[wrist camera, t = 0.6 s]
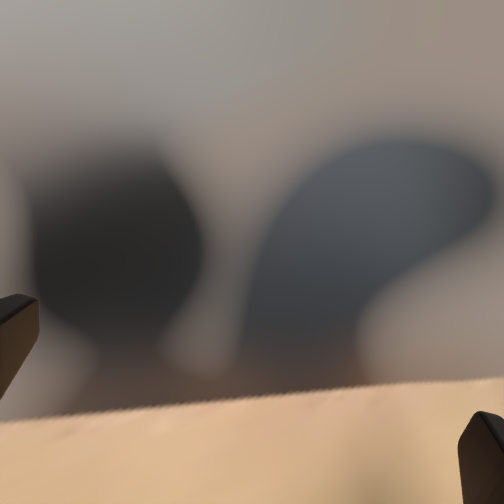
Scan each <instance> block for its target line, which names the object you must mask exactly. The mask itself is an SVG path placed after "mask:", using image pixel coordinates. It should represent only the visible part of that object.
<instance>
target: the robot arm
mask: <svg viewBox="0 0 504 504" xmlns="http://www.w3.org/2000/svg"><path fill="white" fill-rule="evenodd" d="M38 335H39V302H38V300H37V299H36V298H34V297H30V296H27V295H23V294H14V295H11V296H8V297H5V298H2V299H0V400H1V398H2V397H3V395H4V394H5V392H6V390H7V389H8V387H9V385H10V384H11V382H12V380H13V379H14V377H15V376H16V374H17V372H18V370H19V369H20V367H21V366H22V364H23V362H24V361H25V359H26V357H27V356H28V354H29V353H30V351H31V349H32V348H33V346H34V344H35V343H36V341H37V338H38ZM458 459H459V468H460V477H461V486H462V496H463V504H504V419H503V418H502V417H500V416H498V415H496V414H492V413H488V412H484V411H478V412H476V413H475V414H474V415H473V416H472V418H471V420H470V422H469V423H468V425H467V427H466V428H465V430H464V432H463V433H462V435H461V437H460V439H459V442H458Z"/></svg>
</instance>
